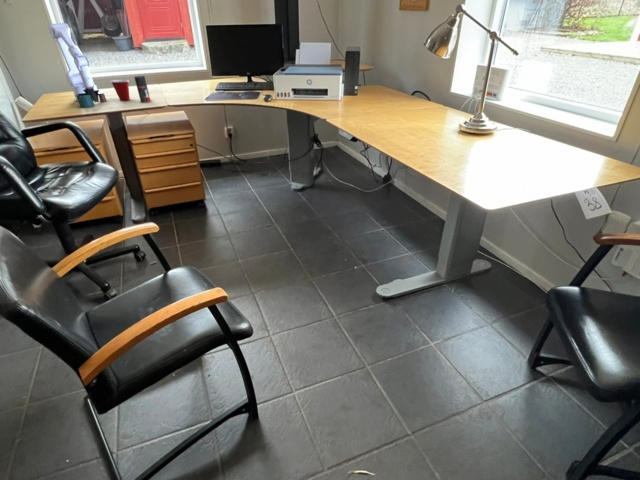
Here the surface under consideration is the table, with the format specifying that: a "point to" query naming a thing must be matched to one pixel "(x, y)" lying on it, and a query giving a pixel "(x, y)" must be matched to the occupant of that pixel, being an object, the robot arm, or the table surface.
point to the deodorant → (142, 89)
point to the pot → (85, 100)
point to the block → (102, 97)
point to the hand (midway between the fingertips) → (94, 101)
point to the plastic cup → (121, 89)
